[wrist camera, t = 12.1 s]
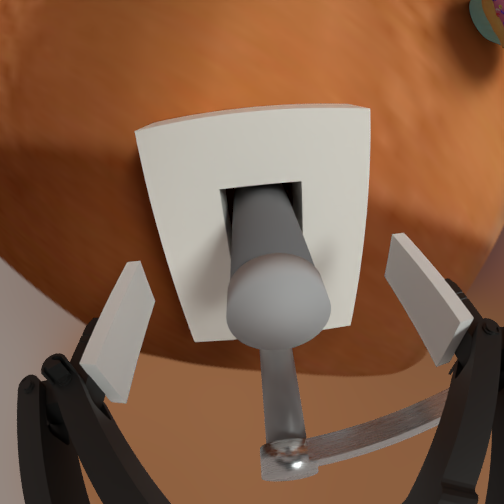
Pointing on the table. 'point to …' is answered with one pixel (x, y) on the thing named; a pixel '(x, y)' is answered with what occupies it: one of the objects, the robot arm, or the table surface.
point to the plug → (272, 273)
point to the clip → (348, 441)
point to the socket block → (248, 174)
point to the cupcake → (489, 19)
